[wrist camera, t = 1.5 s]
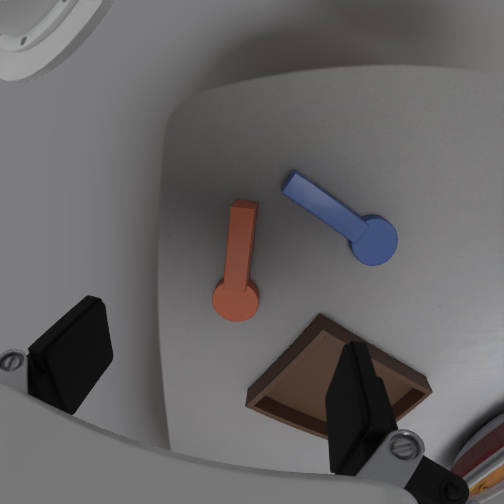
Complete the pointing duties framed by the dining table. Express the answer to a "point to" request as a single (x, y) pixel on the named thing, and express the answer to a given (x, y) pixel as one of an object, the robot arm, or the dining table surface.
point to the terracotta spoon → (238, 266)
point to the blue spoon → (345, 220)
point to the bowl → (483, 461)
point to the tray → (326, 379)
